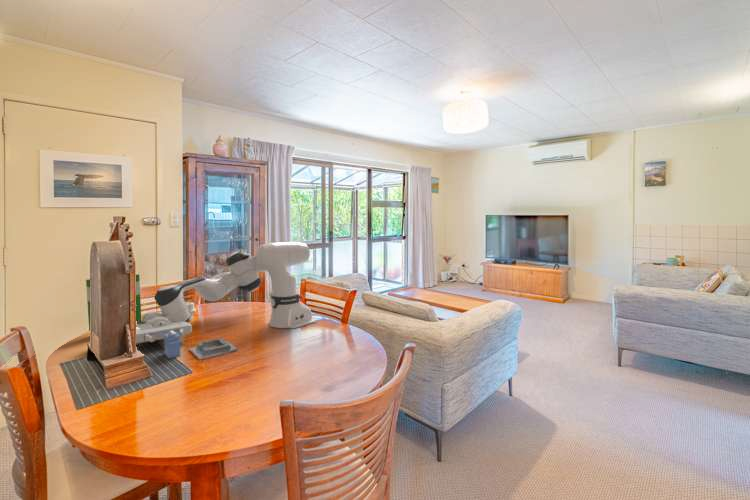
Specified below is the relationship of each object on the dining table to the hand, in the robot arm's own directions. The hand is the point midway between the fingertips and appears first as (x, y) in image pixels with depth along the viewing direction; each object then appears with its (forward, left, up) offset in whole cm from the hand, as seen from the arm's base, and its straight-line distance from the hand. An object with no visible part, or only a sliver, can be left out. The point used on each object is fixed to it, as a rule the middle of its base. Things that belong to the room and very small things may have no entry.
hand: (167, 337), depth 140 cm
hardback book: (+11, -39, -6) cm, 41 cm away
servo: (-1, +5, -5) cm, 7 cm away
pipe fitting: (-18, -39, -6) cm, 43 cm away
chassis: (-14, +10, -5) cm, 18 cm away
